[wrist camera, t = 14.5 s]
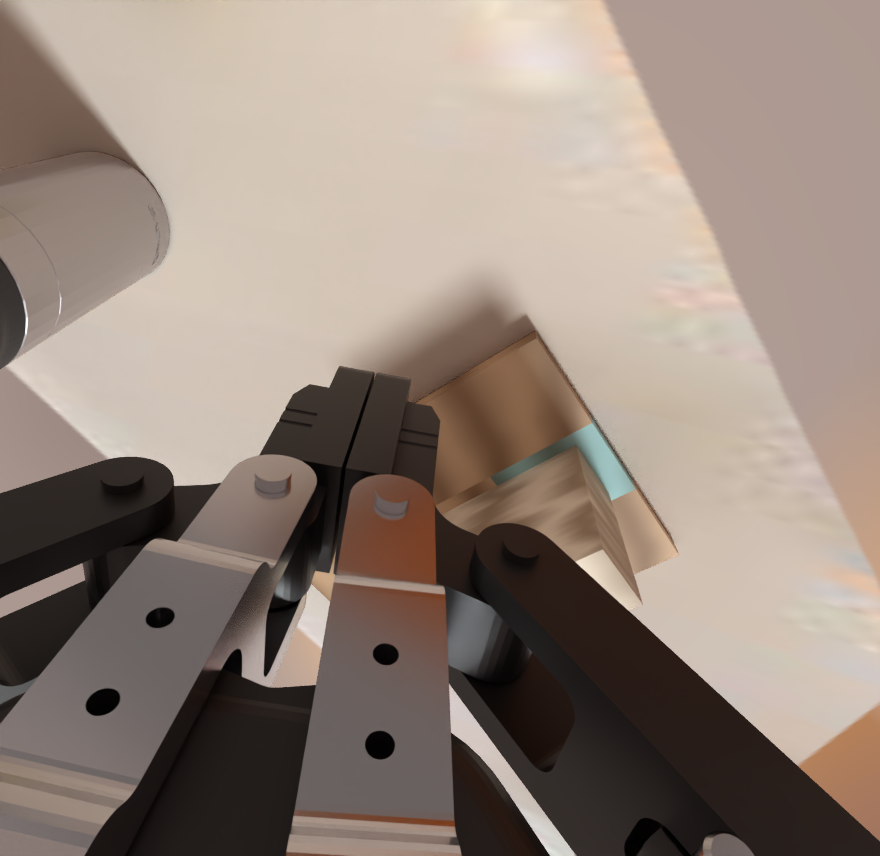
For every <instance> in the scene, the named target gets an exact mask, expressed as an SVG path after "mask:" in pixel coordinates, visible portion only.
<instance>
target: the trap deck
mask: <svg viewBox="0 0 880 856" xmlns="http://www.w3.org/2000/svg"><path fill="white" fill-rule="evenodd" d="M416 404H422V405H427V406H432V408H433V409H434V411H435V413H436V414H437V416H438V418H439V419H440V429H439V437H438V438H439V439H438V448H437V458H436V468H435V478H434V487H433V500H434V504H435V506H436V508H437V509H438V511H439V512H440V513H441V514H444V513H446V512H448V511H450V510H452V509H454V508H455V507H457V506H459V505H461V504H463V503H465V502H467V501H469V500H471V499H473V498H475V497H477V496H479V495H481V494H483V493H484V492H486V491H488V490H490V489H492V488H494V487H496V486H498V485H500V484H502V483H504V482H506V481H508V480H510V479H511V478H513V477H515V476H517V475H519V474H521V473H523V472H525V471H527V470H529V469H531V468H533V467H535V466H537V465H539V464H540V463H542V462H544V461H546V460H548V459H550V458H552V457H554V456H556V455H558V454H560V453H562V452H564V451H566V450H568V449H569V448H571V447H573V446H575V445H576V446H577V447H578V449H579V450H580V452H581V453H582V455H583V456H584V458H585V459H586V460H587V462H588V463H589V465H590V466H591V468H592V469H593V471H594V472H595V474H596V475H597V477H598V478H599V480H600V481H601V482H602V484H603V485H604V487H605V488H606V490H607V491H608V493H609V495H610V498H611V502H612V505H613V508H614V512H615V515H616V518H617V521H618V525H619V528H620V531H621V534H622V538H623V541H624V544H625V548H626V551H627V554H628V557H629V561H630V564H631V567H632V571H633V574H636V573H638V572H640V571H643V570H645V569H648V568H650V567H652V566H655V565H657V564H659V563H662V562H664V561H666V560H669V559H671V558H673V557H676V556H678V555H679V554H678V551H677V549H676V546H675V544H674V542H673V541H672V539H671V538H670V536H669V535H668V533H667V532H666V530H665V529H664V527H663V526H662V524H661V523H660V521H659V520H658V518H657V517H656V515H655V513H654V512H653V510H652V509H651V507H650V506H649V504H648V503H647V501H646V500H645V498H644V497H643V495H642V494H641V492H640V491H639V489H638V487H637V486H636V484H635V483H634V481H633V480H632V478H631V477H630V475H629V474H628V472H627V471H626V469H625V468H624V466H623V465H622V463H621V462H620V460H619V458H618V457H617V455H616V454H615V452H614V451H613V449H612V448H611V446H610V445H609V443H608V442H607V440H606V439H605V437H604V436H603V434H602V432H601V431H600V429H599V428H598V426H597V425H596V423H595V422H594V420H593V419H592V417H591V416H590V414H589V413H588V411H587V410H586V408H585V407H584V405H583V403H582V402H581V400H580V399H579V397H578V396H577V394H576V393H575V391H574V390H573V388H572V387H571V385H570V384H569V382H568V381H567V379H566V377H565V376H564V374H563V373H562V371H561V370H560V368H559V367H558V365H557V364H556V362H555V361H554V359H553V358H552V356H551V355H550V353H549V352H548V350H547V348H546V347H545V345H544V344H543V342H542V341H541V339H540V338H539V336H538V335H537V333H536V332H535V331H534V332H532V333H530V334H529V335H527V336H525V337H524V338H522V339H520V340H519V341H517V342H516V343H514V344H512V345H511V346H509V347H507V348H506V349H504V350H502V351H501V352H499V353H497V354H496V355H494V356H492V357H491V358H489V359H487V360H486V361H484V362H482V363H481V364H479V365H477V366H476V367H474V368H472V369H471V370H469V371H467V372H466V373H464V374H462V375H461V376H459V377H457V378H456V379H454V380H452V381H451V382H449V383H447V384H446V385H444V386H442V387H441V388H439V389H437V390H436V391H434V392H432V393H431V394H429V395H427V396H426V397H424V398H422V399H421V400H419V401H418V402H416ZM335 555H336V552H335ZM334 563H335V556H334V559H333V563H332V566H331V570H330V573H324V572H319V571H315V573H314V576H313V579H312V583H311V584H312V585H313V586H314V587H315V588H316V589H318V590H319V591H320V592H321V593H322V594H323V595H324V596H325V597H326V598H327V599H328V600H329V601H330V600H331V594H332V588H333V582H334V577H335V574H333V571H334Z"/></svg>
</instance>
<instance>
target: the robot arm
mask: <svg viewBox="0 0 880 856" xmlns="http://www.w3.org/2000/svg"><path fill="white" fill-rule="evenodd" d="M169 236H170V229H169V222H168V216H167V214H166V211H165V208H164V205H163V203H162V201H161V199H160V197H159V196H158V194H157V192H156V190H155V189H154V188H153V187H152V185H151V184H150V183H149V182H148V180H147V179H146V178H145V177H144V176H143V175H142V174H141V173H139V172H138V171H137V170H136V169H135V168H134V167H132V166H130V165H129V164H127V163H126V162H124V161H123V160H121V159H118V158H116V157H113V156H111V155H108V154H104V153H99V152H79V153H75V154H70V155H66V156H61V157H57V158H52V159H47V160H43V161H38V162H34V163H30V164H25V165H21V166H16V167H12V168H7V169H3V170H0V369H1V368H3V367H4V366H6V365H7V364H9V363H11V362H12V361H14V360H15V359H17V358H18V357H20V356H21V355H23V354H25V353H26V352H28V351H29V350H31V349H32V348H34V347H35V346H37V345H38V344H40V343H41V342H43V341H44V340H46V339H47V338H49V337H51V336H52V335H54V334H55V333H57V332H58V331H60V330H62V329H63V328H65V327H66V326H68V325H69V324H71V323H72V322H74V321H76V320H77V319H79V318H80V317H82V316H83V315H85V314H86V313H88V312H90V311H91V310H93V309H94V308H96V307H97V306H99V305H100V304H102V303H104V302H105V301H107V300H108V299H110V298H111V297H113V296H115V295H116V294H118V293H119V292H121V291H122V290H124V289H126V288H127V287H129V286H130V285H132V284H133V283H135V282H137V281H138V280H140V279H141V278H143V277H144V276H146V275H147V274H149V273H151V272H152V271H153V270H154V269H155V268H156V267H157V266H158V265H159V264H160V263H161V261H162V260H163V258H164V257H165V255H166V252H167V248H168V245H169ZM410 383H411V379H408V378H403V377H397V376H392V375H386V374H381V373H377V374H376V377H375V380H374V372H369V371H364V370H358V369H353V368H347V367H342V366H339V368H338V370H337V372H336V374H335V376H334V379H333V381H332V383H331V385H330V387H329V388H327V387H322V386H316V385H311V384H310V385H308V386H306V387H305V388H303V389H301V390H300V391H298V392H296V393H295V394H293V396H292V397H291V399H290V401H289V403H288V405H287V406H286V409H285V411H284V412H283V414H282V415H281V417H280V420H279V422H278V423H277V424H276V426H275V428H274V430H273V432H272V433H271V435H270V437H269V439H268V441H267V442H266V444H265V446H264V448H263V450H262V451H261V453H260V455H259V456H255V457H251V458H248V459H246V460H244V461H242V462H240V463H238V464H237V465H236V466H235V467H234V468H233V469H232V470H231V471H230V472H229V474H228V475H227V476H226V478H225V479H224V480H223V482H222V483H218V484H211V485H193V486H174V480H173V475H172V473H171V471H170V470H169V469H168V468H167V467H166V466H164V465H163V464H161V463H159V462H157V461H154V460H151V459H147V458H141V457H119V458H113V459H108V460H104V461H101V462H98V463H94V464H91V465H88V466H85V467H82V468H79V469H76V470H73V471H69V472H66V473H63V474H60V475H57V476H54V477H50V478H47V479H44V480H41V481H38V482H35V483H32V484H29V485H26V486H23V487H19V488H16V489H13V490H10V491H7V492H3V493H0V598H2V597H4V596H5V595H8V594H10V593H12V592H15V591H17V590H19V589H22V588H24V587H27V586H29V585H31V584H34V583H36V582H38V581H41V580H43V579H45V578H48V577H50V576H53V575H55V574H57V573H60V572H62V571H64V570H67V569H69V568H72V567H74V566H76V565H79V564H81V563H83V568H84V575H85V581H83V582H80V583H78V584H76V585H74V586H71V587H69V588H67V589H65V590H62V591H60V592H58V593H56V594H54V595H51V596H49V597H47V598H44V599H42V600H40V601H38V602H35V603H33V604H31V605H29V606H26V607H24V608H22V609H19V610H17V611H15V612H13V613H10V614H8V615H6V616H4V617H2V618H0V856H550V855H549V854H548V852H547V851H546V849H545V848H544V846H543V845H542V843H541V842H540V840H539V839H538V837H537V836H536V834H535V833H534V831H533V830H532V828H531V827H530V825H529V824H528V822H527V821H526V819H525V818H524V816H523V815H522V813H521V812H520V810H519V809H518V807H517V806H516V804H515V803H514V801H513V800H512V798H511V797H510V795H509V794H508V792H507V791H506V789H505V788H504V786H503V785H502V784H501V782H500V781H499V779H498V778H497V777H496V775H495V774H494V773H493V771H492V770H491V769H490V768H489V767H488V766H487V764H486V763H485V762H484V761H483V760H482V759H481V757H480V756H479V755H478V754H476V753H475V752H474V751H473V750H472V749H471V748H470V747H469V746H468V745H467V744H466V743H464V742H463V741H461V740H460V739H459V738H457V737H456V736H455V735H453V734H452V733H451V725H450V699H449V684H450V685H451V687H452V688H453V689H454V691H455V692H456V693H457V695H458V696H459V698H460V699H461V700H462V702H463V703H464V704H465V706H466V707H467V708H468V710H469V711H470V712H471V714H472V715H473V716H474V718H475V719H476V720H477V722H478V723H479V725H480V726H481V727H482V729H483V730H484V731H485V733H486V734H487V735H488V737H489V738H490V739H491V741H492V742H493V743H494V745H495V746H496V748H497V749H498V750H499V752H500V753H501V754H502V756H503V757H504V758H505V760H506V761H507V762H508V764H509V765H510V766H511V768H512V769H513V770H514V772H515V773H516V775H517V776H518V777H519V779H520V780H521V781H522V783H523V784H524V785H525V787H526V788H527V789H528V791H529V792H530V793H531V795H532V796H533V798H534V799H535V800H536V802H537V803H538V804H539V806H540V807H541V808H542V810H543V811H544V812H545V814H546V815H547V816H548V818H549V819H550V821H551V822H552V823H553V825H554V826H555V827H556V829H557V830H558V831H559V833H560V834H561V835H562V837H563V838H564V839H565V841H566V842H567V843H568V845H569V846H570V848H571V849H572V850H573V852H574V853H575V854H576V856H880V841H879V840H877V839H876V838H875V837H874V836H873V835H872V834H871V833H870V832H869V831H868V830H866V829H865V828H864V827H863V826H862V825H861V824H860V823H859V822H858V821H857V820H856V819H855V818H854V817H852V816H851V815H850V814H849V813H848V812H847V811H846V810H845V809H844V808H843V807H841V806H840V805H839V804H838V803H837V802H836V801H835V800H834V799H833V798H832V797H831V796H829V794H827V793H826V792H825V791H824V790H823V789H822V788H821V787H820V786H819V785H818V784H817V783H815V782H814V781H813V780H812V779H811V778H810V777H809V776H808V775H807V774H806V773H805V772H803V771H802V770H801V769H800V768H799V767H798V766H797V765H796V764H795V763H794V762H793V761H792V760H790V759H789V758H788V757H787V756H786V755H785V754H784V753H783V752H782V751H781V750H780V749H778V748H777V747H776V746H775V745H774V744H773V743H772V742H771V741H770V740H769V739H768V738H766V737H765V736H764V735H763V734H762V733H761V732H760V731H759V730H758V729H757V728H756V727H754V726H753V725H752V724H751V723H750V722H749V721H748V720H747V719H746V718H745V717H744V716H743V715H741V714H740V713H739V712H738V711H737V710H736V709H735V708H734V707H733V706H732V705H731V704H729V703H728V702H727V701H726V700H725V699H724V698H723V697H722V696H721V695H720V694H719V693H717V692H716V691H715V690H714V689H713V688H712V687H711V686H710V685H709V684H708V683H707V682H705V681H704V680H703V679H702V678H701V677H700V676H699V675H698V674H697V673H696V672H695V671H694V670H692V669H691V668H690V667H689V666H688V665H687V664H686V663H685V662H684V661H683V660H682V659H680V658H679V657H678V656H677V655H676V654H675V653H674V652H673V651H672V650H671V649H670V648H668V647H667V646H666V645H665V644H664V643H663V642H662V641H661V640H660V639H659V638H658V637H656V636H655V635H654V634H653V633H652V632H651V631H650V630H649V629H648V628H647V627H646V626H645V625H643V624H642V623H641V622H640V621H639V620H638V619H637V618H636V617H635V616H634V615H633V614H631V613H630V612H629V611H628V610H627V609H626V608H625V607H624V606H623V605H622V604H621V603H619V602H618V601H617V600H616V599H615V598H614V597H613V596H612V595H611V594H610V593H609V592H607V591H606V590H605V589H604V588H603V587H602V586H601V585H600V584H599V583H598V582H597V581H595V580H594V579H593V578H592V577H591V576H590V575H589V574H588V573H587V572H586V571H585V570H584V569H582V568H581V567H580V566H579V565H578V564H577V563H576V562H575V561H574V560H573V559H572V558H570V557H569V556H568V555H567V554H566V553H565V552H564V551H563V550H562V549H561V548H560V547H558V546H557V545H556V544H555V543H554V542H553V541H552V540H551V539H550V538H548V537H547V536H546V535H544V534H543V533H541V532H539V531H537V530H535V529H533V528H530V527H528V526H524V525H520V524H515V523H499V524H495V525H491V526H489V527H487V528H485V529H484V530H482V531H481V533H480V534H479V535H476V534H473V533H471V532H468V531H466V530H464V529H462V528H460V527H457V526H456V525H454V524H453V523H451V522H450V521H448V520H447V519H446V518H445V517H444V516H443V515H442V514H441V513H440V512H439V511H438V509H437V508H436V506H435V504H434V500H433V487H434V478H435V468H436V458H437V448H438V439H439V438H438V437H439V429H440V419H439V418H438V416H437V414H436V413H435V411H434V409H433V408H432V406H427V405H422V404H416V403H411V402H407V401H408V395H409V389H410ZM335 552H336V555H335ZM334 556H335V563H334V571H333V574H335V577H334V582H333V588H332V594H331V600H330V606H329V612H328V617H327V623H326V629H325V635H324V641H323V647H322V653H321V659H320V664H319V670H318V676H317V682H316V685H312V686H296V687H283V688H271V686H272V684H273V681H274V679H275V676H276V674H277V672H278V669H279V667H280V665H281V662H282V660H283V657H284V655H285V653H286V650H287V648H288V646H289V643H290V641H291V639H292V636H293V634H294V631H295V629H296V627H297V624H298V622H299V620H300V617H301V615H302V613H303V610H304V608H305V604H306V595H307V591H308V590H309V588H310V585H311V583H312V579H313V576H314V573H315V571H319V572H324V573H330V570H331V566H332V563H333V559H334Z"/></svg>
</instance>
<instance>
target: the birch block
mask: <svg viewBox="0 0 880 856" xmlns="http://www.w3.org/2000/svg"><path fill="white" fill-rule="evenodd" d="M442 515H443V516H444V517H445V518H446V519H447V520H448V521H450V522H451V523H453V524H454V525H456V526H457V527H460V528H462V529H464V530H466V531H468V532H471V533H473V534H476V535H479V534H480V533H481V531H482V530H484V529H485V528H487V527H489V526H491V525H495V524H499V523H515V524H520V525H524V526H528V527H530V528H533V529H535V530H537V531H539V532H541V533H543V534H544V535H546V536H547V537H548V538H550V539H551V540H552V541H553V542H554V543H555V544H556V545H557V546H558V547H560V548H561V549H562V550H563V551H564V552H565V553H566V554H567V555H568V556H569V557H570V558H572V559H573V560H574V561H575V562H576V563H577V564H578V565H579V566H580V567H581V568H582V569H584V570H585V571H586V572H587V573H588V574H589V575H590V576H591V577H592V578H593V579H594V580H595V581H597V582H598V583H599V584H600V585H601V586H602V587H603V588H604V589H605V590H606V591H607V592H609V593H610V594H611V595H612V596H613V597H614V598H615V599H616V600H617V601H618V602H619V603H621V604H622V605H623V606H624V607H625V608H626V609H627V610H631V609H633V608H635V607H638V606H640V605H643V603H642V600H641V597H640V594H639V590H638V587H637V584H636V580H635V577H634V574H633V571H632V567H631V564H630V561H629V557H628V554H627V551H626V548H625V544H624V541H623V538H622V534H621V531H620V528H619V525H618V521H617V518H616V515H615V512H614V508H613V505H612V502H611V498H610V495H609V493H608V491H607V490H606V488H605V487H604V485H603V484H602V482H601V481H600V480H599V478H598V477H597V475H596V474H595V472H594V471H593V469H592V468H591V466H590V465H589V463H588V462H587V460H586V459H585V458H584V456H583V455H582V453H581V452H580V450H579V449H578V447H577V446H576V445H575V446H573V447H571V448H569V449H568V450H566V451H564V452H562V453H560V454H558V455H556V456H554V457H552V458H550V459H548V460H546V461H544V462H542V463H540V464H539V465H537V466H535V467H533V468H531V469H529V470H527V471H525V472H523V473H521V474H519V475H517V476H515V477H513V478H511V479H510V480H508V481H506V482H504V483H502V484H500V485H498V486H496V487H494V488H492V489H490V490H488V491H486V492H484V493H483V494H481V495H479V496H477V497H475V498H473V499H471V500H469V501H467V502H465V503H463V504H461V505H459V506H457V507H455V508H454V509H452V510H450V511H448V512H446V513H444V514H442Z"/></svg>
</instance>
